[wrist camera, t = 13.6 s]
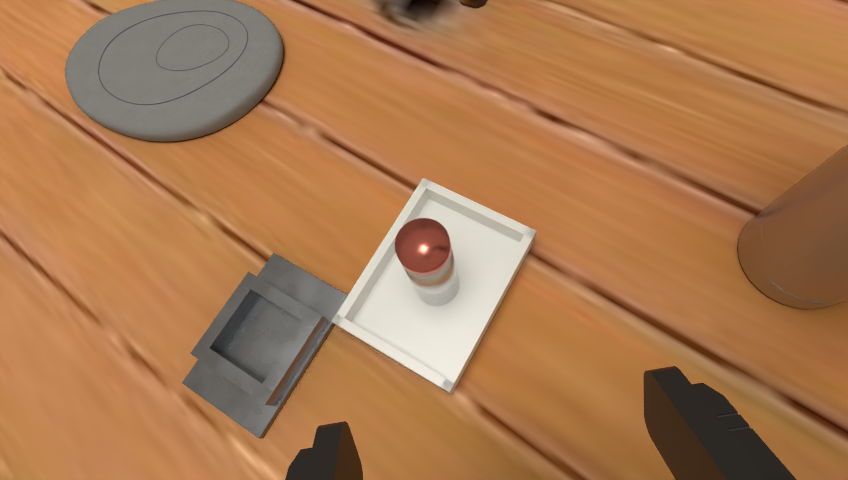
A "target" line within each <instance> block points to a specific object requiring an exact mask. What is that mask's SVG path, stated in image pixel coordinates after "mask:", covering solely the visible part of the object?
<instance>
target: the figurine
mask: <svg viewBox="0 0 848 480" xmlns="http://www.w3.org/2000/svg"><path fill="white" fill-rule="evenodd" d="M460 2H461V3H463V4H464V5H468V6H471V7H475V8H478V7H480V6H483V5H484V4H485V2H486V0H460Z"/></svg>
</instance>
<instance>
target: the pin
mask: <svg viewBox="0 0 848 480" xmlns="http://www.w3.org/2000/svg"><path fill="white" fill-rule="evenodd" d="M395 252H396V255H397V257H398V259H399V261H400V262H401V264H402V266H403V268H404V270H405V272H406V273H407V275H408V277H409V279H410V281H411V283H412V284H413V286H414V288H415V290H416V292H417V294H418V295H419V297H420V298H421V299H422V300H423V301H424V302H425V303H427V304H430V305H434V306H440V305H444V304H447V303H449V302H450V301H451V300H453V299H454V298H455V296H456V295H457V293H458V290H459V285H460V282H459V277H458V273H457V268H456V264H455V260H454V255H453V251H452V247H451V242H450V238H449V235H448V232H447V230H446V229H445V227H444V226H443V225H442V224H440V223H439V222H437V221H436V220H433V219H429V218H418V219H414V220H412V221H410V222H408V223H406V224H405V225H404V226H403V227H402V228H401V229H400V230H399V232H398V234H397V236H396V239H395Z"/></svg>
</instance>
